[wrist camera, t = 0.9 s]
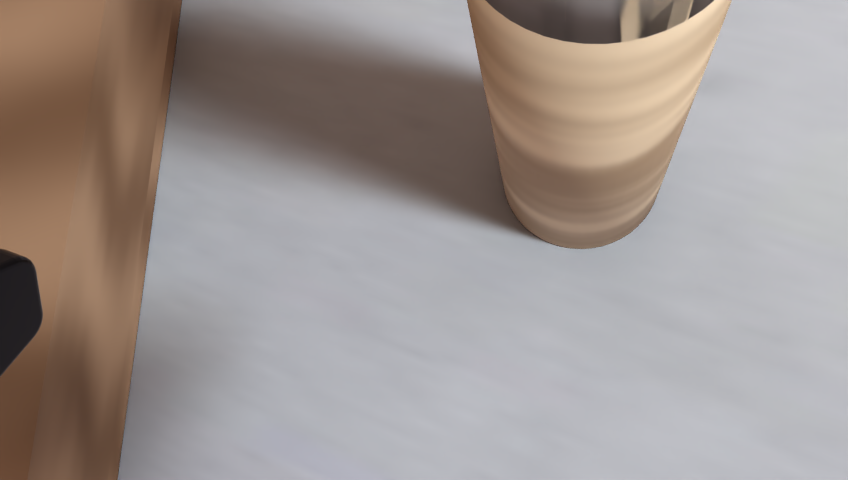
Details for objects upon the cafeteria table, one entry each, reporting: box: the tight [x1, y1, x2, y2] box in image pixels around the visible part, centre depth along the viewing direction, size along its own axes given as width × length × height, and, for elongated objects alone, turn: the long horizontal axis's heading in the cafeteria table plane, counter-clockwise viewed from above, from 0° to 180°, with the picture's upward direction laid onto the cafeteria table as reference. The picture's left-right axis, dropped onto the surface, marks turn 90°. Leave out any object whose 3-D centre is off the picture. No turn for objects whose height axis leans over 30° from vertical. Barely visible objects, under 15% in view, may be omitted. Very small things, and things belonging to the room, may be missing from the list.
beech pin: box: [467, 0, 732, 249], centre depth 16 cm, size 4×4×13 cm
